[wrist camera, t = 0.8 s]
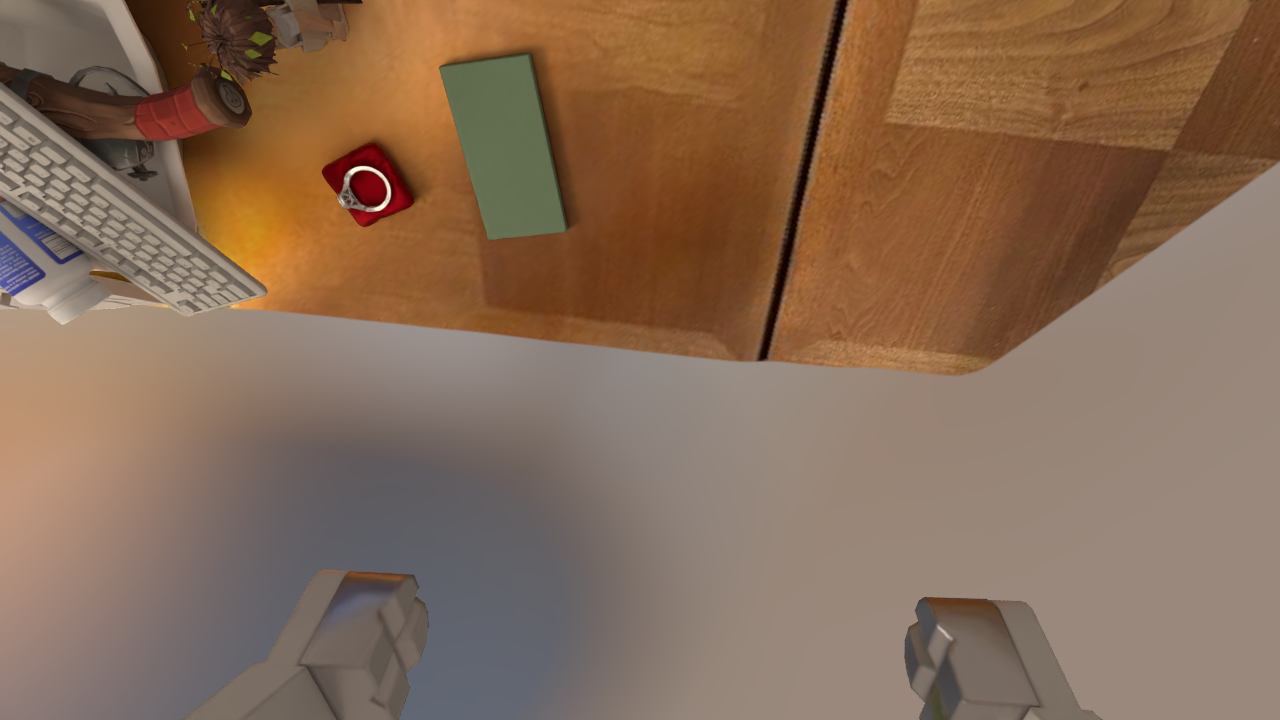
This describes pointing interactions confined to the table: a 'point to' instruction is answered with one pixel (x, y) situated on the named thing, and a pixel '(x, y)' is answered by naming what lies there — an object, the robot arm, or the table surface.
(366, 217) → the engagement ring
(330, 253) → the table surface
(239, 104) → the toy gun
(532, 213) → the mat
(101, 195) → the keyboard
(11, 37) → the bowl
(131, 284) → the emblem
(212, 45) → the toy
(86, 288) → the pill bottle
